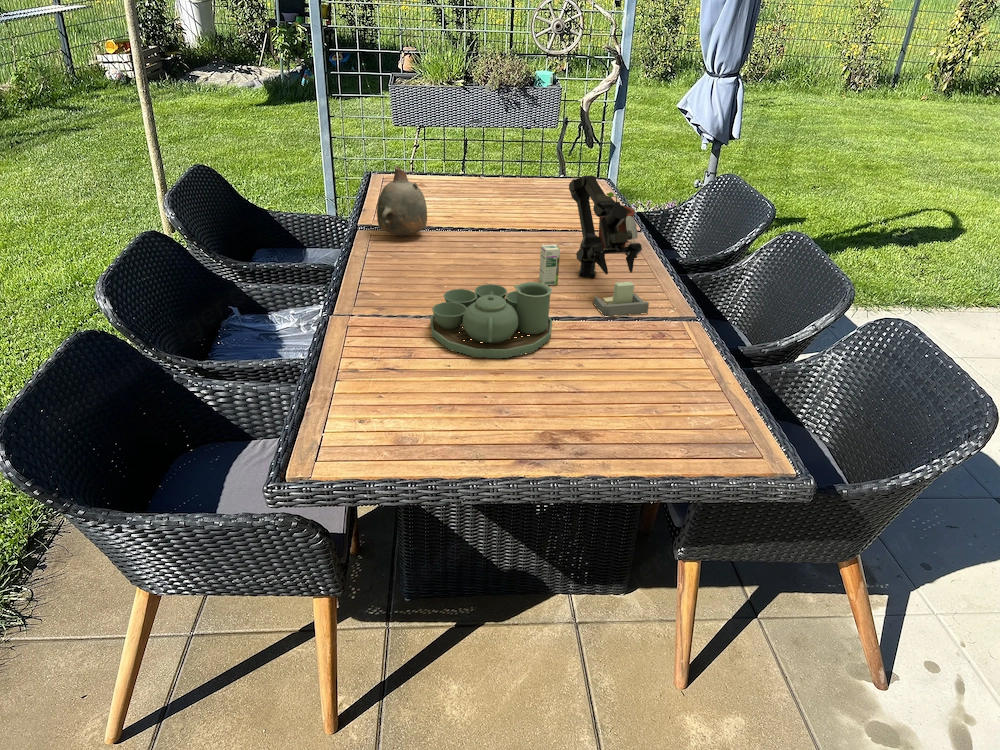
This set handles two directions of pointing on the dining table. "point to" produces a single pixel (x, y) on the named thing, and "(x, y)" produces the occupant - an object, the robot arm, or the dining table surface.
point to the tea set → (494, 320)
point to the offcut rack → (621, 306)
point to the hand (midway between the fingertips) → (619, 273)
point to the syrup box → (549, 264)
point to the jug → (401, 206)
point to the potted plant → (626, 223)
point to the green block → (623, 292)
